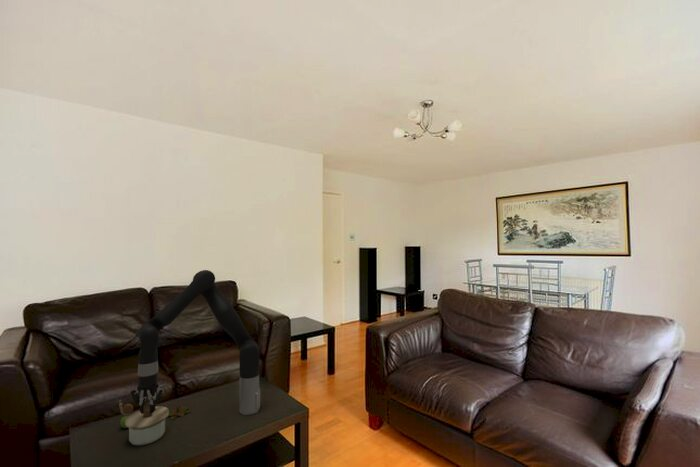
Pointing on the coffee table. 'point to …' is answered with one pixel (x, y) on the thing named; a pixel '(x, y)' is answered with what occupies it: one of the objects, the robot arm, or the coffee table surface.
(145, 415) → the lid
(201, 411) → the coffee table surface
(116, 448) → the coffee table surface
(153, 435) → the bowl
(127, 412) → the snail figurine
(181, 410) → the lily flower
